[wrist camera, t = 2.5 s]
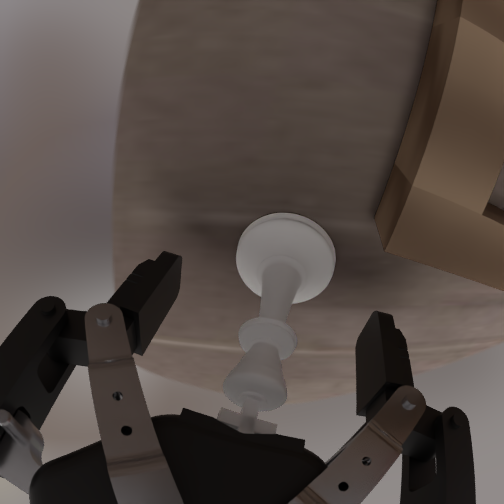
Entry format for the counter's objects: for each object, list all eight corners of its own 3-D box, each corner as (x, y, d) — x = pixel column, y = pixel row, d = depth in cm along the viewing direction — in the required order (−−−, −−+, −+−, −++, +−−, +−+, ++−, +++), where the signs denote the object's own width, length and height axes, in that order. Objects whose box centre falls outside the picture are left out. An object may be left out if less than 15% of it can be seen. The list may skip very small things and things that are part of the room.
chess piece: (253, 197, 14) (158, 376, 6) (352, 234, 14) (367, 438, 6) (227, 277, 17) (152, 445, 9) (312, 308, 17) (289, 486, 9)
